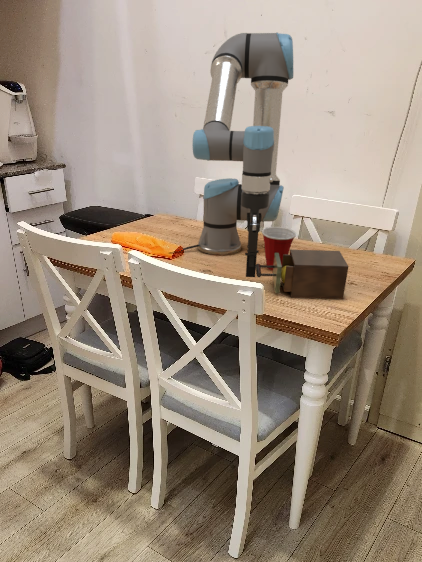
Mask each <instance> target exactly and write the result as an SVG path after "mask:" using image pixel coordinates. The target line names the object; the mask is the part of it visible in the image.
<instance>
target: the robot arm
mask: <svg viewBox="0 0 422 562" xmlns="http://www.w3.org/2000/svg"><path fill="white" fill-rule="evenodd" d="M209 71H210V72H209V73H210V77H211V83H210V89H209V94H208V99H207V104H206V111H205V116H204V122H203V127H202V128H201V129H196V130H195V131H194V132H193V134H192V155H193V157H194V158H195V160H201V161H202V160H203V161H213V162H215V161H219V162H222V161H223V162H242V173H241V183H240V182H239V180H238V178H219V179H215V180H211V181H208V182H206V184H204V187H203V197H202V199H203V226H202V227H203V228H202V230H201V233H200V236H199V240H198V242H197V243H198V244H195V245H191V246H187V247H183V248H182V249H183V250H181V251H179V252H178V253H180V252H183V251H186V250H190V249H194V248H198V250H199V251H200V252H202V253H205V254H209V255H214V256H227V255H234V254H237V253H239V252H240V251H241V250H242V249H241V248H242V243H241V239H240V236H239V231H238V228H237V227H238V226H237V225H238V224H237V223H238V221H246V222H247V224H246V228H247V229H246V230H247V245H246V249H247V250H246V251H247V252H244V256H245V257H246V264H245V265H246V266H245V278H256V264H257V256H258V254H259V249H258V244H259V243H258V242H259V232H260V231H261V222H262V223H265V222H275V221H277V219H278V216H279V212H280V208H281V203H282V198H283V194H284V186H283V185H282V184H281V179H280V178H279V176H278V175H277V167H278V165H277V164H278V153H279V140H280V139H279V138H280V129H281V115H282V106H283V105H282V104H283V93H284V91H285V90H286V88H288V87H289V81H290V80H293V78H294V42H293V38H292V36H291V34H288V33H281V32H280V33H279V32H240V33H237V34H235V35H233V36H231V37H229V38H228V39H226V40H225V41H224V42H223V43H222V44H221V45H220V46H219V47H218V49H217V51H215V54H214V55H213V58H212V60H211V64H210V70H209ZM241 79H250V86H251V88H252V89H253V91H254V105H253V121H252V125H251V126H246V128H245V129H244V130H231V126H232V120H233V114H234V106H235V99H236V93H237V86H238V83H240V80H241Z"/></svg>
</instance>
